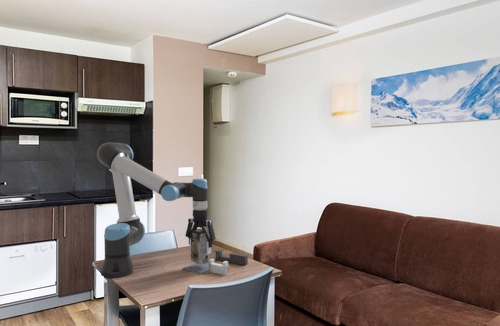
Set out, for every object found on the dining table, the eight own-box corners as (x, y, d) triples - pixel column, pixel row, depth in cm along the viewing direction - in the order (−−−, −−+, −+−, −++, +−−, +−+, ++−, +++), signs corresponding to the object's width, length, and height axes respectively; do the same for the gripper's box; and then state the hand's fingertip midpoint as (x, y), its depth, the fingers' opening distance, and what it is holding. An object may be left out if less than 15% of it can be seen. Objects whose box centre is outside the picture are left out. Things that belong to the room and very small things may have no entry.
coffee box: (190, 260, 193) (190, 229, 193) (201, 258, 197) (201, 228, 196) (199, 265, 186) (198, 232, 185) (210, 262, 189) (210, 230, 189)
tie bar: (215, 259, 206) (215, 250, 206) (218, 258, 209) (218, 249, 208) (245, 265, 196) (245, 255, 196) (247, 263, 198) (247, 254, 198)
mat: (181, 269, 189) (181, 268, 189) (198, 263, 200) (198, 262, 200) (202, 274, 182) (202, 272, 182) (217, 267, 193) (217, 265, 193)
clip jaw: (208, 271, 186) (208, 259, 186) (211, 270, 188) (211, 258, 188) (225, 275, 181) (225, 262, 181) (228, 273, 183) (228, 261, 183)
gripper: (178, 208, 193) (178, 250, 194) (213, 211, 181) (213, 257, 182) (187, 206, 200) (187, 247, 200) (222, 209, 188) (222, 253, 188)
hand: (200, 252), depth 191 cm, fingers closed on coffee box, 10 cm apart
